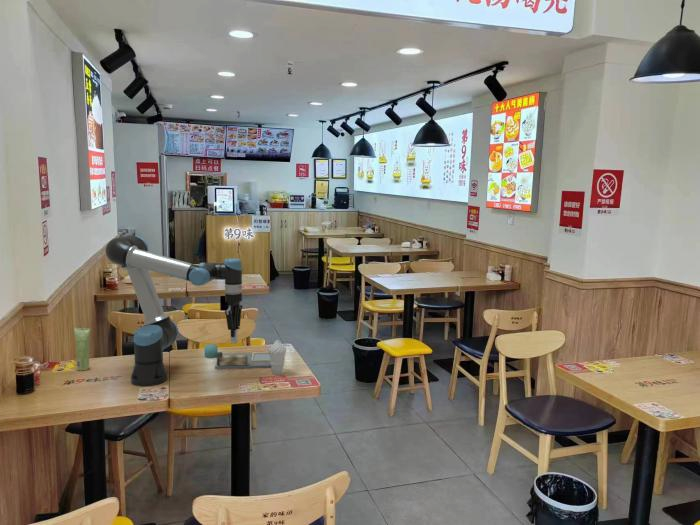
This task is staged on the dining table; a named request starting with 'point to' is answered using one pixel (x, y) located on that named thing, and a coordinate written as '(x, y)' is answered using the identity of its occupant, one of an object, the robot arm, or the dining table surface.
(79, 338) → the tube
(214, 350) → the teal egg shape
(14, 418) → the dining table surface
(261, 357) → the jig board
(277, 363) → the soft serve ice cream cone
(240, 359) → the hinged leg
